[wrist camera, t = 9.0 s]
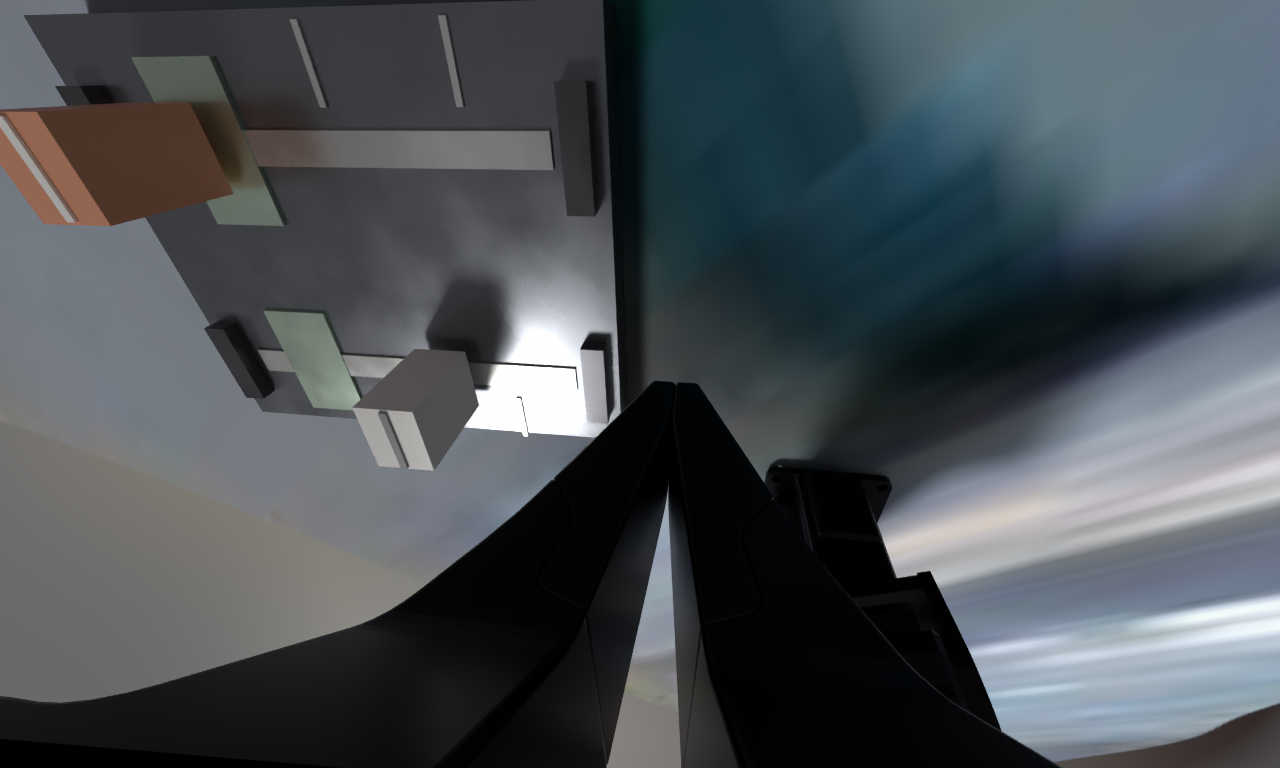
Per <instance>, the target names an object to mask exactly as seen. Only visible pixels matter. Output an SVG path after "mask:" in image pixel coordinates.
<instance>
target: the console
mask: <svg viewBox="0 0 1280 768" xmlns="http://www.w3.org/2000/svg"><path fill="white" fill-rule="evenodd" d="M24 17H25V19H26V20H27V22H28V24H29V25H30V27H31V29H32V30H33V32H34V34H35V35H36V37H37V39H38V40H39V42H40V43H41V45H42V47H43V48H44V50H45V52H46V53H47V55H48V57H49V58H50V60H51V62H52V63H53V65H54V67H55V68H56V70H57V72H58V73H59V75H60V77H61V78H62V80H63V82H64V83H65V85H66V86H55V87H56V88H57V90H58V92H59V93H60V95H61V97H62V98H63V100H64V101H65V103H66V105H67V106H76V105H94V104H112V103H129V102H190V104H191V106H192V108H193V110H194V112H195V114H196V116H197V118H198V121H199V123H200V125H201V127H202V129H203V131H204V133H205V135H206V137H207V139H208V141H209V143H210V145H211V147H212V150H213V152H214V154H215V156H216V158H217V160H218V162H219V164H220V166H221V168H222V170H223V172H224V174H225V176H226V178H227V181H228V183H229V185H230V187H231V189H232V191H233V193H234V194H232V195H228V196H224V197H220V198H216V199H213V200H209V201H205V202H201V203H197V204H193V205H190V206H186V207H182V208H178V209H174V210H170V211H166V212H163V213H159V214H155V215H151V216H147V217H146V219H147V221H148V222H149V224H150V226H151V227H152V229H153V231H154V232H155V234H156V236H157V237H158V239H159V241H160V242H161V244H162V246H163V247H164V249H165V251H166V252H167V254H168V256H169V257H170V259H171V261H172V262H173V264H174V266H175V267H176V269H177V271H178V272H179V274H180V275H181V277H182V279H183V280H184V282H185V284H186V285H187V287H188V289H189V290H190V292H191V294H192V295H193V297H194V299H195V300H196V302H197V304H198V305H199V307H200V309H201V310H202V312H203V314H204V315H205V317H206V319H207V320H208V322H209V324H210V326H208V327H206V328H204V329H205V331H206V332H207V334H208V336H209V337H210V339H211V340H212V342H213V344H214V345H215V347H216V349H217V350H218V352H219V353H220V355H221V357H222V358H223V360H224V362H225V363H226V365H227V366H228V368H229V370H230V371H231V373H232V375H233V376H234V378H235V379H236V381H237V383H238V384H239V386H240V388H241V389H242V391H243V392H244V394H245V396H246V397H247V398H255V400H256V401H257V403H258V405H259V406H260V408H261V410H262V411H263V412H276V413H289V414H302V415H315V416H328V417H341V418H353V419H357V417H356V415H355V413H354V411H353V409H352V407H353V406H354V405H355V404H356V403H358V402H359V401H360V400H361V399H362V398H363V397H364V396H365V395H366V394H367V393H368V392H369V391H370V390H371V389H372V388H373V387H375V386H376V385H377V384H378V383H379V382H380V381H381V380H382V379H383V378H384V377H385V376H386V375H387V374H388V373H389V372H390V371H392V370H393V369H394V368H395V367H396V366H397V365H398V364H399V363H400V362H401V361H402V360H403V359H404V358H405V357H406V356H407V355H409V354H410V353H411V352H412V351H413V350H414V349H428V350H445V351H462V352H465V353H466V357H467V361H468V365H469V368H470V372H471V376H472V380H473V384H474V387H475V391H476V395H477V399H478V403H479V406H478V408H477V409H476V411H475V412H474V414H473V415H472V417H471V418H470V420H469V421H468V422H467V424H466V425H465V427H469V428H482V429H495V430H508V431H520V432H523V436H528V432H533V433H546V434H559V435H572V436H585V437H597V436H598V435H599V434H600V433H601V432H602V431H603V430H604V429H605V428H606V427H607V426H608V425H609V424H610V423H611V422H612V421H613V420H614V419H615V418H616V417H617V416H618V415H619V414H620V413H621V412H622V411H623V410H624V409H625V408H626V407H627V380H626V349H625V318H624V287H623V256H622V225H621V193H620V162H619V131H618V100H617V69H616V38H615V6H614V5H612V4H611V3H609V2H608V1H606V0H523V1H490V2H456V3H423V4H390V5H356V6H323V7H289V8H256V9H222V10H189V11H155V12H122V13H89V14H55V15H24Z"/></svg>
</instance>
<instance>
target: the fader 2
mask: <svg viewBox="0 0 1280 768" xmlns="http://www.w3.org/2000/svg"><path fill="white" fill-rule="evenodd" d="M478 406H479V403H478V399H477V395H476V391H475V387H474V384H473V380H472V376H471V372H470V368H469V365H468V361H467V357H466V353H465V352H462V351H445V350H428V349H414V350H413V351H412V352H411V353H410V354H409V355H407V356H406V357H405V358H404V359H403V360H402V361H401V362H400V363H399V364H398V365H397V366H396V367H395V368H394V369H393V370H392V371H390V372H389V373H388V374H387V375H386V376H385V377H384V378H383V379H382V380H381V381H380V382H379V383H378V384H377V385H376V386H375V387H373V388H372V389H371V390H370V391H369V392H368V393H367V394H366V395H365V396H364V397H363V398H362V399H361V400H360V401H359V402H358V403H356V404H355V405H354V406H353V407H352V409H353V411H354V413H355V415H356V417H357V420H358V422H359V424H360V426H361V428H362V430H363V433H364V435H365V437H366V439H367V441H368V443H369V446H370V448H371V450H372V452H373V454H374V456H375V459H376V461H377V463H378V465H379V466H386V467H397V468H406V469H419V470H430V471H434V470H435V469H436V467H437V466H438V464H439V463H440V462H441V460H442V459H443V457H444V456H445V454H446V453H447V451H448V450H449V448H450V447H451V446H452V444H453V443H454V441H455V440H456V438H457V437H458V435H459V434H460V433H461V431H462V430H463V428H464V427H465V425H466V424H467V422H468V421H469V420H470V418H471V417H472V415H473V414H474V412H475V411H476V409H477V408H478Z"/></svg>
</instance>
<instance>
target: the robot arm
mask: <svg viewBox="0 0 1280 768" xmlns="http://www.w3.org/2000/svg"><path fill="white" fill-rule="evenodd" d="M774 476H778V477H774ZM668 485H669V490H668ZM879 485H881V486H879ZM891 490H892V484H891V482H890V480H889V478H887V477H886V476H879V475H867V474H855V473H842V472H830V471H818V470H806V469H793V468H781V467H773V468H770V469H769V470H768V471H767V473H766V478H765V483H764V482H763V480H762V479H761V477H760V476H759V474H758V473H757V472H756V470H755V469H754V467H753V466H752V464H751V463H750V461H749V460H748V458H747V457H746V455H745V454H744V452H743V451H742V449H741V448H740V446H739V445H738V443H737V442H736V440H735V439H734V437H733V436H732V434H731V433H730V431H729V430H728V428H727V427H726V425H725V424H724V422H723V421H722V419H721V418H720V416H719V415H718V413H717V412H716V410H715V409H714V407H713V406H712V404H711V403H710V401H709V400H708V398H707V397H706V395H705V394H704V392H703V391H702V389H701V388H700V386H699V385H698V384H696V383H681V382H679V383H677V384H676V386H675V384H674V383H673V382H666V381H654V382H652V383H651V384H650V385H649V386H648V387H647V388H646V389H645V390H644V391H643V392H642V393H641V394H640V395H639V396H638V397H637V398H636V399H635V400H633V401H632V402H631V403H630V404H629V405H628V406H627V407H626V408H625V409H624V410H623V411H622V412H621V413H620V414H619V415H618V416H617V417H616V418H615V419H614V420H613V421H612V422H611V423H610V424H609V425H608V426H607V427H606V428H605V429H604V430H603V431H602V432H601V433H600V434H599V435H598V436H597V437H595V438H594V439H593V440H592V441H591V442H590V443H589V444H588V445H587V446H586V447H585V448H584V449H583V450H582V451H581V452H580V453H579V454H578V455H577V456H576V457H575V458H574V459H573V460H572V461H571V462H570V463H569V464H568V465H567V466H566V467H565V468H564V469H563V470H562V471H561V472H560V473H558V474H557V475H556V476H555V478H554V480H551V481H550V482H549V483H548V484H547V485H546V486H545V487H544V488H543V489H542V490H541V491H540V492H539V493H538V494H537V495H535V496H534V497H533V498H532V499H531V500H530V501H529V502H528V503H527V504H526V505H525V506H523V507H522V508H521V509H520V510H519V511H518V512H517V513H516V514H515V515H513V516H512V517H511V518H510V519H509V520H507V521H506V522H505V523H504V524H502V525H501V526H500V527H499V528H498V529H496V530H495V531H494V532H493V533H491V534H490V535H489V536H488V537H487V538H485V539H484V540H483V541H481V542H480V543H479V544H478V545H476V546H475V547H474V548H472V549H471V550H470V551H469V552H467V553H466V554H465V555H464V556H462V557H461V558H460V559H458V560H457V561H456V562H455V563H453V564H452V565H451V566H449V567H448V568H447V569H446V570H444V571H443V572H442V573H440V574H439V575H438V576H437V577H435V578H434V579H433V580H432V581H430V582H429V583H428V584H426V585H425V586H424V587H423V588H421V589H420V590H419V591H417V592H416V593H415V594H413V595H412V596H411V597H409V598H408V599H406V600H405V601H404V602H402V603H401V604H399V605H397V606H396V607H394V608H393V609H391V610H389V611H388V612H386V613H384V614H382V615H380V616H378V617H376V618H374V619H372V620H370V621H367V622H365V623H362V624H360V625H357V626H354V627H351V628H347V629H344V630H341V631H337V632H334V633H331V634H327V635H324V636H320V637H317V638H314V639H310V640H307V641H304V642H300V643H297V644H294V645H290V646H287V647H283V648H280V649H277V650H273V651H270V652H267V653H263V654H260V655H256V656H253V657H250V658H246V659H243V660H239V661H236V662H233V663H230V664H226V665H223V666H219V667H216V668H213V669H209V670H206V671H202V672H199V673H195V674H192V675H189V676H185V677H182V678H179V679H176V680H172V681H168V682H165V683H162V684H159V685H154V686H151V687H147V688H143V689H139V690H136V691H132V692H128V693H123V694H118V695H113V696H107V697H102V698H97V699H92V700H83V701H74V702H64V703H55V702H54V703H53V702H37V701H30V700H25V699H19V698H12V697H4V696H0V768H606V765H607V764H608V761H609V756H610V752H611V747H612V743H613V738H614V733H615V729H616V725H617V720H618V716H619V711H620V707H621V703H622V698H623V694H624V689H625V685H626V680H627V676H628V671H629V667H630V662H631V658H632V653H633V649H634V644H635V640H636V635H637V631H638V626H639V622H640V617H641V613H642V608H643V604H644V599H645V595H646V590H647V586H648V581H649V577H650V572H651V568H652V563H653V559H654V555H655V550H656V546H657V541H658V537H659V532H660V528H661V523H662V519H663V514H664V510H665V505H666V500H667V493H668V508H669V528H670V548H671V568H672V588H673V608H674V628H675V648H676V668H677V688H678V708H679V728H680V746H681V747H680V748H681V768H1062V767H1061V766H1059V765H1057V764H1055V763H1054V762H1052V761H1050V760H1049V759H1047V758H1045V757H1044V756H1042V755H1040V754H1039V753H1037V752H1035V751H1034V750H1032V749H1030V748H1029V747H1027V746H1025V745H1024V744H1022V743H1020V742H1018V741H1017V740H1015V739H1013V738H1012V737H1010V736H1008V735H1007V734H1005V733H1003V732H1002V731H1001V728H1000V726H999V723H998V720H997V717H996V715H995V712H994V709H993V707H992V704H991V702H990V699H989V697H988V694H987V692H986V689H985V687H984V684H983V682H982V680H981V677H980V675H979V672H978V670H977V668H976V666H975V663H974V661H973V659H972V657H971V654H970V652H969V650H968V648H967V646H966V644H965V642H964V640H963V638H962V635H961V633H960V631H959V629H958V627H957V625H956V623H955V621H954V619H953V617H952V615H951V613H950V611H949V609H948V607H947V605H946V603H945V601H944V598H943V596H942V594H941V592H940V590H939V588H938V586H937V584H936V582H935V580H934V578H933V576H932V574H931V572H930V571H926V572H919V573H917V575H914V576H908V577H901V578H897V577H896V574H895V572H894V569H893V566H892V564H891V561H890V558H889V555H888V553H887V550H886V547H885V544H884V542H883V539H882V535H881V533H880V530H879V527H878V525H877V522H878V520H879V517H880V515H881V513H882V511H883V508H884V506H885V504H886V501H887V499H888V497H889V494H890V492H891Z"/></svg>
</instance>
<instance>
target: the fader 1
mask: <svg viewBox="0 0 1280 768" xmlns="http://www.w3.org/2000/svg"><path fill="white" fill-rule="evenodd" d="M0 164H1V166H2V167H3V168H4V170H5V171H6V172H7V174H8V175H9V177H10V178H11V179H12V181H13V182H14V183H15V185H16V186H17V187H18V189H19V190H20V192H21V193H22V194H23V196H24V197H25V198H26V200H27V201H28V203H29V204H30V205H31V207H32V208H33V209H34V211H35V212H36V213H37V215H38V216H39V218H40V219H41V220H42V222H43V223H44V224H62V225H96V226H113V225H116V224H120V223H124V222H128V221H132V220H136V219H140V218H143V217H147V216H151V215H155V214H159V213H163V212H166V211H170V210H174V209H178V208H182V207H186V206H190V205H193V204H197V203H201V202H205V201H209V200H213V199H216V198H220V197H224V196H228V195H232V194H234V193H233V191H232V189H231V187H230V185H229V183H228V181H227V178H226V176H225V174H224V172H223V170H222V168H221V166H220V164H219V162H218V160H217V158H216V156H215V154H214V152H213V150H212V147H211V145H210V143H209V141H208V139H207V137H206V135H205V133H204V131H203V129H202V127H201V125H200V123H199V121H198V118H197V116H196V114H195V112H194V110H193V108H192V106H191V104H190V102H129V103H112V104H94V105H76V106H58V107H40V108H22V109H4V110H0Z"/></svg>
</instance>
